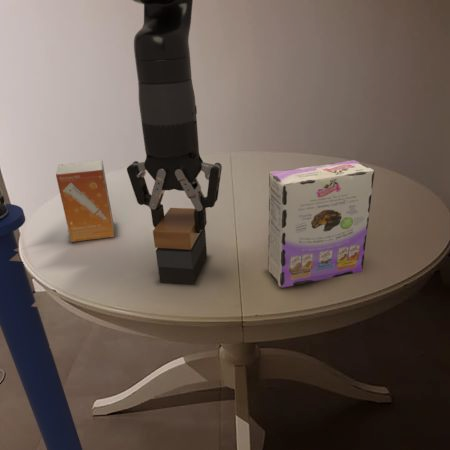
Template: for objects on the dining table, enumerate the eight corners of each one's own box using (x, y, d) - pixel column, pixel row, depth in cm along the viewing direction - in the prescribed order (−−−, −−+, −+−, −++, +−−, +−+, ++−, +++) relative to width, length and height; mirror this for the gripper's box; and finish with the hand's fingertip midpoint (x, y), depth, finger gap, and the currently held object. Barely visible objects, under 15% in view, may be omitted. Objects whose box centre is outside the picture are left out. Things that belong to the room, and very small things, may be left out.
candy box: (345, 257, 78) (356, 158, 69) (363, 273, 73) (377, 169, 64) (266, 271, 75) (267, 169, 66) (280, 289, 70) (283, 182, 61)
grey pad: (192, 269, 71) (191, 252, 69) (157, 266, 72) (155, 250, 70) (206, 242, 78) (205, 227, 77) (174, 241, 79) (172, 225, 78)
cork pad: (191, 249, 69) (189, 232, 68) (154, 248, 70) (152, 230, 69) (204, 224, 76) (203, 208, 75) (171, 223, 77) (170, 207, 76)
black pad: (194, 284, 72) (192, 269, 71) (159, 282, 73) (157, 266, 72) (207, 257, 80) (206, 242, 78) (175, 255, 81) (174, 241, 79)
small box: (71, 243, 87) (54, 174, 80) (72, 229, 92) (56, 163, 85) (115, 237, 88) (102, 169, 81) (114, 224, 93) (102, 158, 86)
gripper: (108, 122, 62) (128, 238, 71) (214, 122, 59) (220, 243, 68) (128, 110, 68) (144, 219, 77) (225, 110, 65) (230, 222, 75)
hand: (180, 229), depth 73 cm, fingers closed on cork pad, 5 cm apart
